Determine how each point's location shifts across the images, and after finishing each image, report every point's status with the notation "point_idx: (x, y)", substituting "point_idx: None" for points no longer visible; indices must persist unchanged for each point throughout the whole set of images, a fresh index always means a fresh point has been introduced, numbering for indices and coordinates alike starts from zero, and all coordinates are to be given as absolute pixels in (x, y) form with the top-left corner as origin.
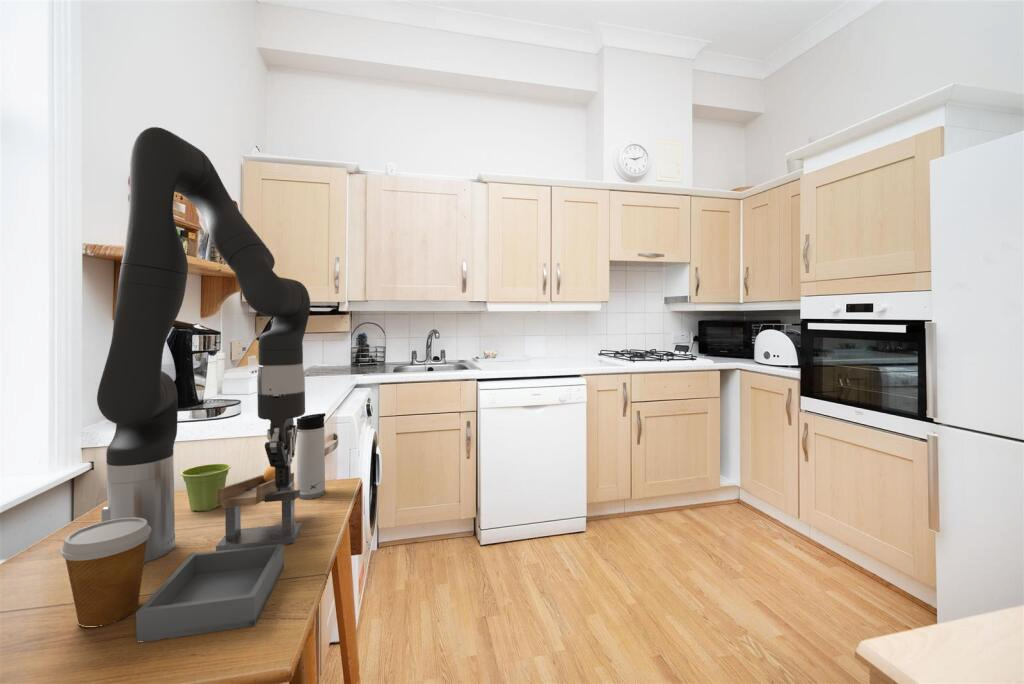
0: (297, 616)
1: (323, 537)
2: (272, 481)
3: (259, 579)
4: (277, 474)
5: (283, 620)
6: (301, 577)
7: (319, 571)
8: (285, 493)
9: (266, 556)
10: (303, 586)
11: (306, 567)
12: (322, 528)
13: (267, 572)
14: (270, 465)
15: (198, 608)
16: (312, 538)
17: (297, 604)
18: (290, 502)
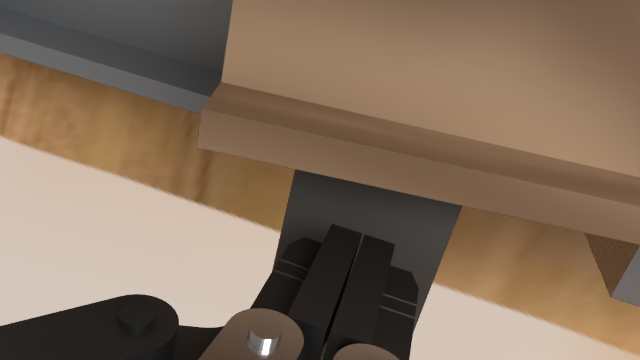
0: (11, 119)
1: (486, 265)
2: (517, 217)
3: (14, 42)
4: (262, 292)
5: (3, 86)
6: (204, 152)
7: (220, 204)
8: (277, 254)
9: None
10: (148, 150)
11: (263, 174)
12: (589, 280)
13: (54, 68)
14: (105, 301)
15: None
16: (504, 229)
17: (63, 125)
18: (586, 236)
